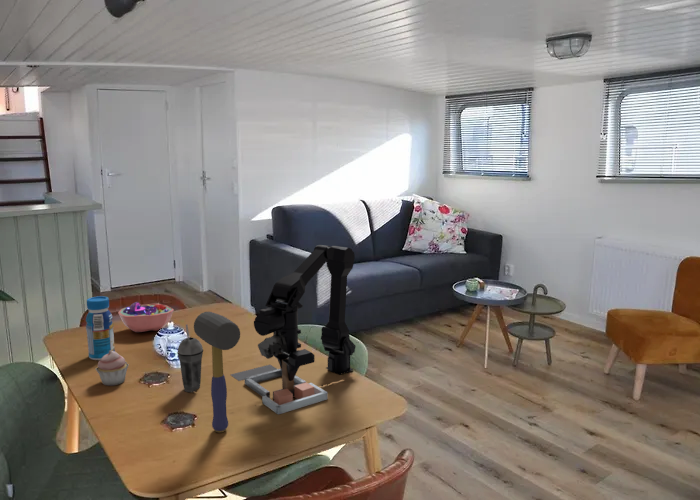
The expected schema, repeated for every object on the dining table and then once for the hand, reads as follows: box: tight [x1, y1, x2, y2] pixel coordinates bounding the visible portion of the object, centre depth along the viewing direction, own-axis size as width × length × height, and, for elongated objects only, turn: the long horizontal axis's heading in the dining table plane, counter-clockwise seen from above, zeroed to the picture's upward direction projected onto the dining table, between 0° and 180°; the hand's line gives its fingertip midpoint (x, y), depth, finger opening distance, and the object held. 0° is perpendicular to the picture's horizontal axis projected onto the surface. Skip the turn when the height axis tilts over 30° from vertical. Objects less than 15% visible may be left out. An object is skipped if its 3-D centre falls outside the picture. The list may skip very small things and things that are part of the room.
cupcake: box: [95, 350, 130, 387], centre depth 176 cm, size 9×9×10 cm
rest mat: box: [230, 364, 278, 382], centre depth 183 cm, size 14×6×1 cm, turn 127°
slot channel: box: [244, 367, 307, 399], centre depth 173 cm, size 13×13×2 cm
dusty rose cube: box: [273, 388, 294, 405], centre depth 163 cm, size 4×4×4 cm
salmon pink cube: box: [293, 381, 315, 400], centre depth 167 cm, size 4×4×4 cm
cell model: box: [117, 301, 174, 333], centre depth 223 cm, size 17×20×11 cm
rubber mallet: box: [193, 311, 241, 433], centre depth 145 cm, size 12×8×30 cm, turn 39°
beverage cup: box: [177, 324, 204, 393], centre depth 170 cm, size 7×7×20 cm
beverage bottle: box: [85, 295, 116, 361], centre depth 196 cm, size 8×8×20 cm
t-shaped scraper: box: [272, 358, 299, 401], centre depth 166 cm, size 9×2×11 cm, turn 127°
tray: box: [261, 382, 329, 415], centre depth 164 cm, size 16×8×2 cm, turn 127°
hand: (288, 379), depth 167 cm, fingers closed on t-shaped scraper, 2 cm apart
